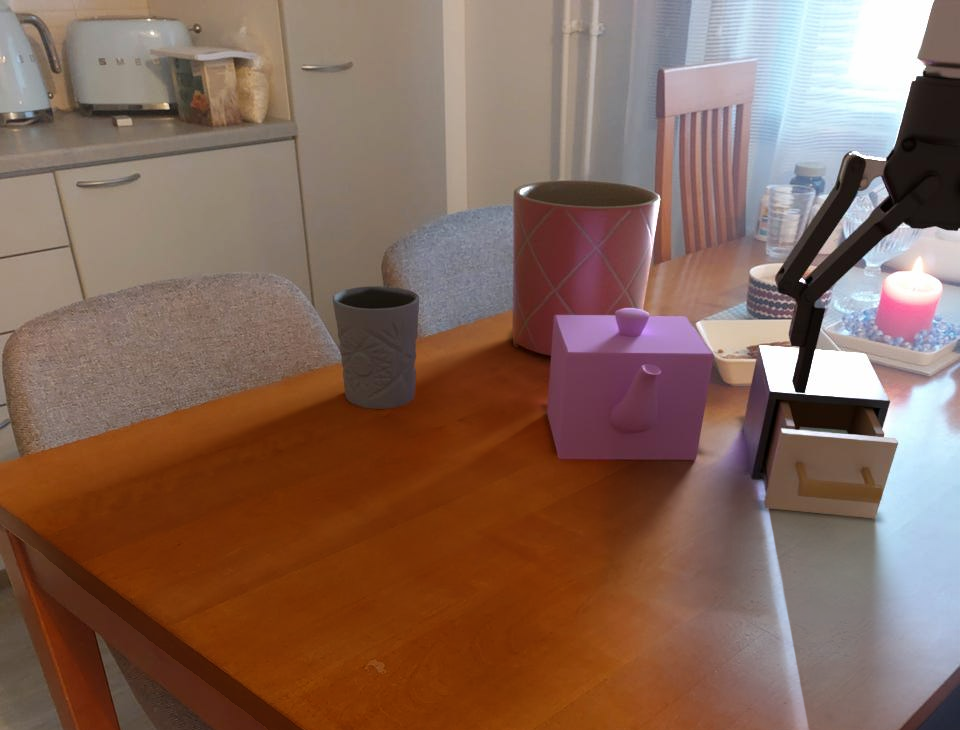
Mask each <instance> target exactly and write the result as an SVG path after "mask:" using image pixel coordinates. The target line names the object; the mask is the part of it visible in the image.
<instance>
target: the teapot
mask: <svg viewBox="0 0 960 730" xmlns="http://www.w3.org/2000/svg"><path fill="white" fill-rule="evenodd" d="M714 358H715V355H714V353H713V352H712V351H711V349H710V347H708V345H707V343H706V342H705V341H704V339H703V337H701V335H700V334H699V332H698V331H697V330H696V328H695V327H694V325H693V324H691V322H690V320H689V319H688V317H687V315H685V316H684V315H682V316H681V315H651V314H650V313H649V312H648V311H646V310H644V309H643V310H641V309H636V308H624V309H620V310H617V311H616V312H615V315H555V316H554V322H553V336H552V351H551V356H550V365H549V366H550V368H549V381H548V395H547V408H546V409H547V412H546V415H547V418H548V419H547V420H548V422H549V426H550V431H551V434H552V438H553V443H554V445H555V449H556V454H557V457H558V460H633V461H634V460H636V461H637V460H644V461H645V460H649V461H650V460H653V461H655V460H658V461H660V460H665V461H666V460H668V461H669V460H671V461H673V460H674V461H696V460H697V457H698V451H699V446H700V445H699V444H700V439H701V433H702V427H703V423H704V417H705V410H706V404H707V399H708V393H709V387H710V381H711V375H712V369H713V364H714Z"/></svg>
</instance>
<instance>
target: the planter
mask: <svg viewBox="0 0 960 730" xmlns="http://www.w3.org/2000/svg"><path fill="white" fill-rule="evenodd" d="M512 199H513V200H512V201H513V203H512V205H513V209H512V211H513V213H512V312H511V313H512V315H511V317H512V318H511V319H512V321H511V323H512V325H511V326H512V327H511V328H512V341H513V346H514V347H515V348H518V347H519V346H521V347H522V348H524V349H526V350H528V351H531V352H534V353H538V354H541V355H546V356H550V357H551V351H552V336H553V322H554V316H555V315H615V312H616V311H617V310H620V309H624V308H636V309H641V310H644V305H645V299H646V292H647V286H648V281H649V276H650V275H649V274H650V268H651V262H652V258H653V257H652V256H653V250H654V243H655V235H656V231H657V230H656V229H657V222H658V216H659V209H660V203H661V196H660V195H659V194H658V193H656V192H655V191H653V190H650V189H647V188H644V187H640V186H636V185H631V184H626V183H619V182H611V181H610V182H608V181H601V180H600V181H599V180H579V179H578V180H575V179H574V180H572V179H571V180H568V179H567V180H566V179H565V180H548V181H547V180H546V181H538V182H531V183H526V184H522V185H520V186H517V187H515V189H514V190H513V198H512Z"/></svg>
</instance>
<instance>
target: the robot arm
mask: <svg viewBox="0 0 960 730" xmlns="http://www.w3.org/2000/svg"><path fill="white" fill-rule="evenodd" d="M916 60H917V62H918V64H920V65H924V67H923V71H922V73H918V74H915V78H912V79H911V81H910V84H909V88H908V93H907V96H906V100H905V104H904V107H903V112H902V116H901V119H900V124H899V127H898V131H897V135H896V139H895V143H894V144H893V147H892V149H891V150H890V152H889V154H887V156H886V157H885V158H883V157H874V156H866V155H862V154H860V153H859V152H858V151H855V150H850V151H848V152H846V154H844V156H843V158H842V160H841V164H840V167H839V170H838V174H837V176H836V181H835V185H834V186H833V187H832V189H831V191H830V192H829V194H827V197H826V198H825V200H823V201H824V202H823V203H822V204H821V206H820V207H819V209H818V210H817V212H816V213H815V215H814V216H813V218H812V219H811V221H810V223H809V224H808V225H807V227H806V229H805V230H804V231H803V233H802V234H801V236H800V238H799V239H798V240H797V242H796V243H795V245H794V247H793V248H792V249H791V250H790V251H791V252H790V253H789V254H788V256H787V257H786V259H785V260H784V262H783V263H782V265H781V267H780V268H779V269H778V271H777V273H776V274H775V276H774V282H775V285H776V288H777V291H778V293H779V294H781V295H784V296H788V297H790V298H792V299H794V300H795V301H794V305H793V306H794V307H793V311H792V316H791V319H790V325H789V329H788V339H789V343H790V346H791V347H796V348H797V347H798V349H799V352H798V356H797V360H796V365H795V369H794V374H793V378H792V383H793V386H794V390H795V393H805V392H806V388H807V384H808V380H809V375H810V371H811V367H812V363H813V359H814V354H815V350H817V346H818V342H819V337H820V333H821V328H822V326H823V320H824V316H825V312H826V307H825V305H824V303H823V300H822V296H824V295H825V294H826V293H827V292H828V291H829V290H830V289H831V288H832V287H833V286H834V285H835V284H837V282H838V281H840V280H841V279H842V278H843V277H844V276H845V275H846V274H848V272H849V271H850V270H852V268H853V267H855V265H857V264H858V263H859V262H860V261H861V260H862V259H864V257H865V256H867V254H868V253H870V252H871V250H873V249H874V248H875V247H876V246H877V245H878V244H879V243H881V242H882V240H884V238H885V237H887V236H889V235H891V234H893V233H894V232H895V231H897V229H898V228H899V227H900V226H901V225H903V224H905V225H907V226H908V227H909V228H911V229H918V230H924V229H930V228H934V227H936V228H939V229H941V230H944V231H949V232H950V231H951V232H959V229H960V0H931V4H930V8H929V12H928V15H927V19H926V23H925V27H924V30H923V35H922V38H921V42H920V46H919V50H918V53H917V57H916ZM878 177H879V178H880V177H881V180H882V182H883V185H884V187H885V189H886V192H887V196H886V197H885V198H884V199H883V200H882V201H881V202H879V204H878V205H877V206H876V207H875V208H874V209H873V210H872V211H871V212H870V214H869V216H868V217H867V218H866V219H865V220H864V221H863V222H862V223H861V224H860V225H859V226H858V227H857V228H856V229H854V230H853V232H851V234H850V235H849V236H848V237H846V239H844V240H843V241H842V242H841V243H840V244H839V245H838V246H837V247H836V248H835V249H834V250H833V251H832V252H831V253H829V255H828V256H827V257H826V258H824V260H823V261H821V262H820V263H819V264H818V265H817V266H816V267H815V268H814V269H813V270H812V271H811V272H810V273H809V274H808V275H807V276H806V277H805V278H803V277H804V276H805V274H806V272H807V271H808V269H809V268H810V267H811V265H812V263H813V262H814V260H815V259H816V257H818V254H819V253H820V251H821V250H822V248H824V246H825V244H826V243H827V241H828V240H829V238H830V237H831V235H832V234H833V232H834V231H835V229H836V228H837V227H838V225H839V224H840V222H841V220H843V218H844V216H845V215H846V213H847V211H848V210H849V209H850V207H851V205H852V204H853V202H854V200H855V199H856V196H857V195H858V192H863V191H866V190H867V189H868V188H869V187H870V185H871V183H872V182H873V181H874V180H875V179H876V178H878Z"/></svg>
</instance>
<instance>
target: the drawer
mask: <svg viewBox="0 0 960 730" xmlns="http://www.w3.org/2000/svg"><path fill="white" fill-rule="evenodd" d="M799 427H808V428H822V429H835V430H847V432H848V434H841V433H829V432H818V431H806V430H799ZM898 446H899V442H898V440H897V438H896V437H886V436H885V432H884V430H883V429H882V428H881V426H880V423H879V421H878V419H877V417H876V415H875V413H874V411H873V408H872V407H863V406H851V405H839V404H827V403H815V402H802V401H790V400H778V399H776V403H775V408H774V412H773V417H772V422H771V426H770V431H769V435H768V440H767V444H766V449H765V454H764V458H763V461H764V465H765V471H766V475H767V481H768V484H767V488H766V492H765V497H764V501H763V504H764V508H765V509H772V510H781V511H783V510H784V511H793V512H802V513H813V514H823V515H824V514H825V515H832V516H833V515H835V516H845V517H853V518H854V517H855V518H865V519H876V516H877V513H878V511H879V507H880V504H881V501H882V498H883V494H884V491H885V489H886V484H887V481H888V478H889V473H890V472H891V468H892V465H893V462H894V459H895V455H896V452H897V448H898Z"/></svg>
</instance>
